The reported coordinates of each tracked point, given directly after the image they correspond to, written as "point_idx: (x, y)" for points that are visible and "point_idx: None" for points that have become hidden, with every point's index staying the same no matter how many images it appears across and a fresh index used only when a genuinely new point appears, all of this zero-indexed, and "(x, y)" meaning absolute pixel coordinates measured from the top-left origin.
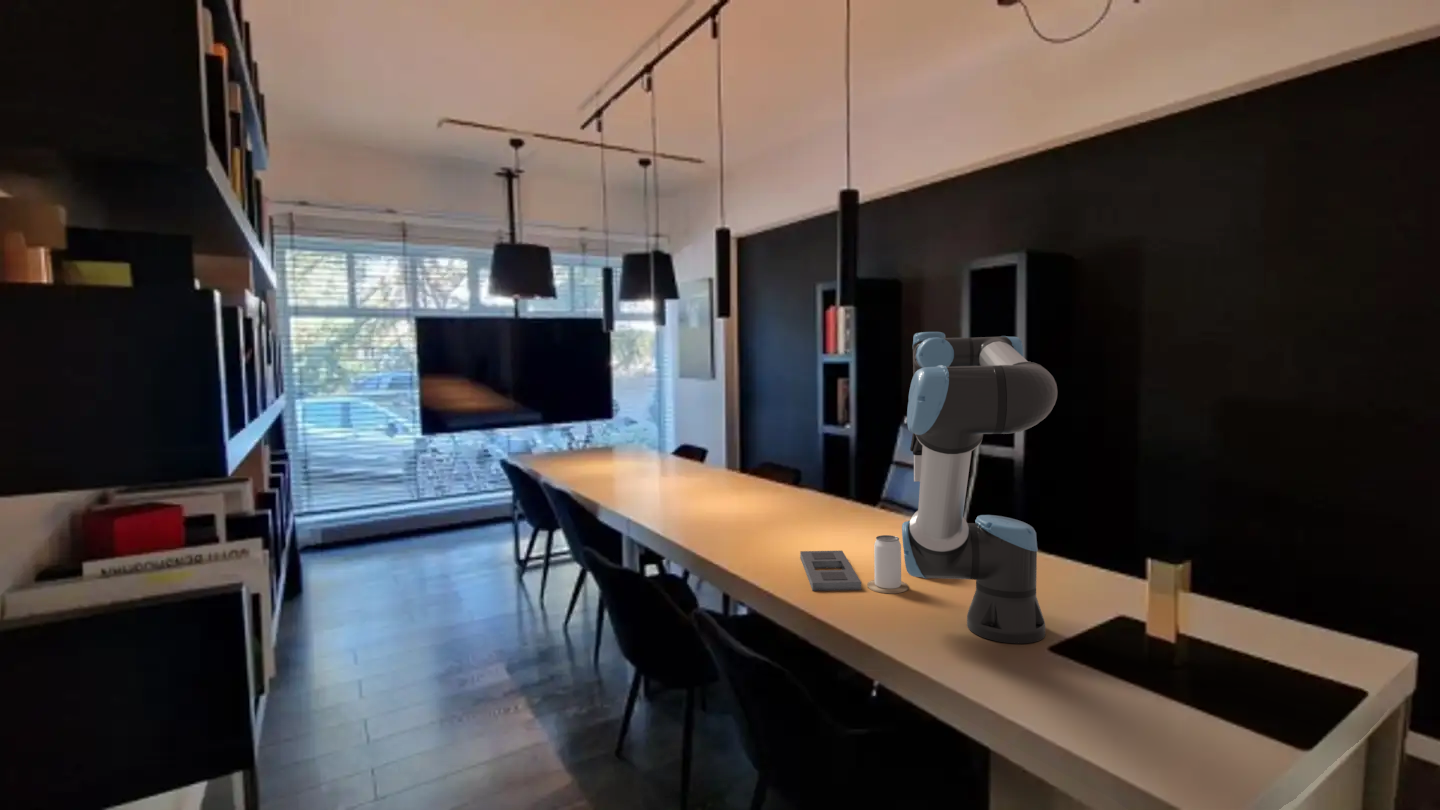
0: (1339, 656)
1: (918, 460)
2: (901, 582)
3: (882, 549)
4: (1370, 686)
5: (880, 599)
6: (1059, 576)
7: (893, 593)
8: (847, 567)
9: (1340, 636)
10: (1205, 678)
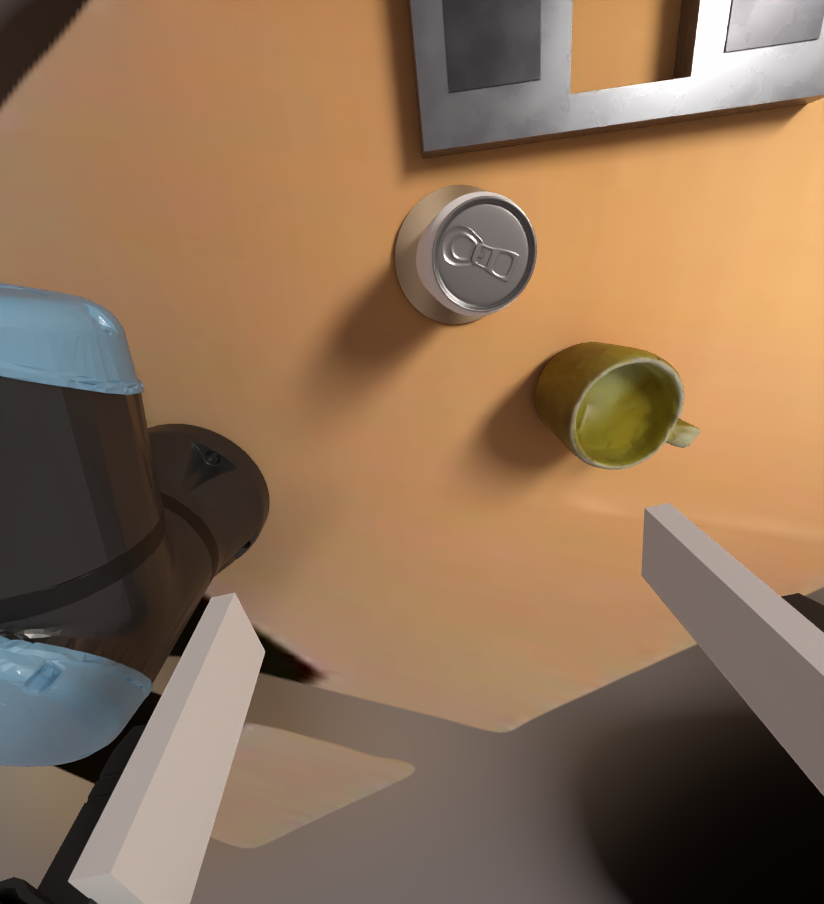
0: (221, 809)
1: (796, 691)
2: None
3: (429, 227)
4: None
5: (340, 221)
6: (530, 647)
7: (396, 270)
8: (599, 103)
9: (289, 830)
10: None
